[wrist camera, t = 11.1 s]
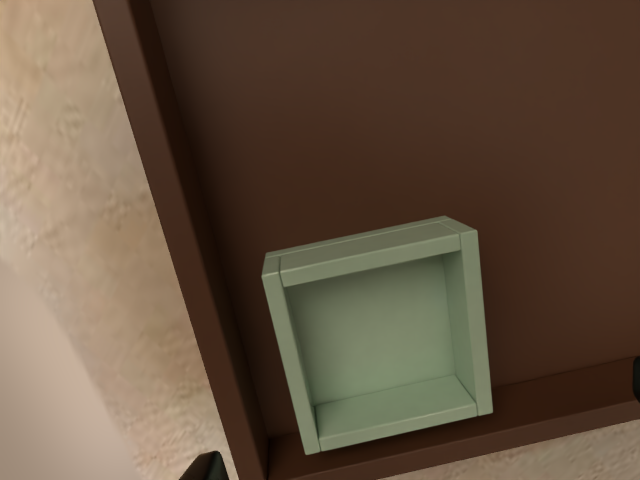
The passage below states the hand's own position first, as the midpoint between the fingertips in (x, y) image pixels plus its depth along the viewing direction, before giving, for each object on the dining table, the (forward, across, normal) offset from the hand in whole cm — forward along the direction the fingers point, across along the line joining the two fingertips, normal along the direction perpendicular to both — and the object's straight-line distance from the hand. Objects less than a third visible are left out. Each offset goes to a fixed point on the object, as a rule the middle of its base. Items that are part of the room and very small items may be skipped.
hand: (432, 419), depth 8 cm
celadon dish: (+5, 0, 0) cm, 5 cm away
